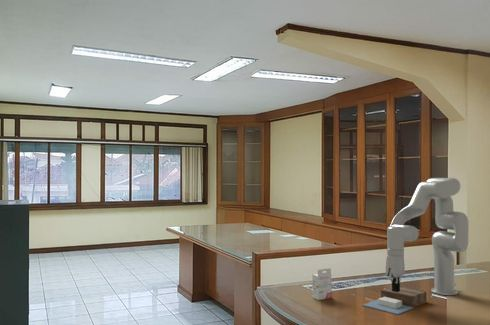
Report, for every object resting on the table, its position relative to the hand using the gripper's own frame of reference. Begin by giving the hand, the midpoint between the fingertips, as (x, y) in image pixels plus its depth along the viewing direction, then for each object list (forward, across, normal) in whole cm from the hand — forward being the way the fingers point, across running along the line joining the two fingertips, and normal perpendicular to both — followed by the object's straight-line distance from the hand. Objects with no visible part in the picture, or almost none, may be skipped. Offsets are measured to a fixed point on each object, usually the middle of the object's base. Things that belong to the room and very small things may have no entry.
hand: (395, 291), depth 209 cm
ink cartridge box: (+6, +18, -30) cm, 36 cm away
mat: (+6, +7, 0) cm, 10 cm away
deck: (+6, -7, 0) cm, 9 cm away
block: (+3, +6, 0) cm, 6 cm away
